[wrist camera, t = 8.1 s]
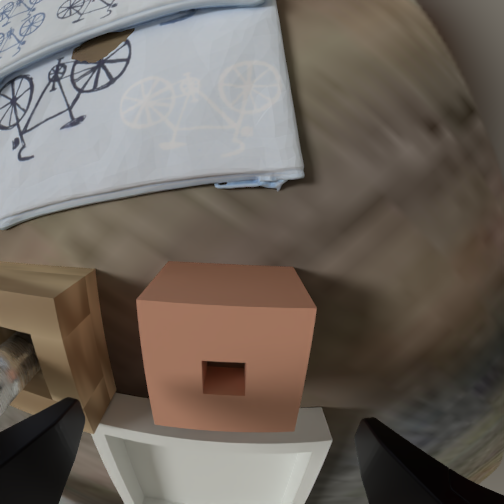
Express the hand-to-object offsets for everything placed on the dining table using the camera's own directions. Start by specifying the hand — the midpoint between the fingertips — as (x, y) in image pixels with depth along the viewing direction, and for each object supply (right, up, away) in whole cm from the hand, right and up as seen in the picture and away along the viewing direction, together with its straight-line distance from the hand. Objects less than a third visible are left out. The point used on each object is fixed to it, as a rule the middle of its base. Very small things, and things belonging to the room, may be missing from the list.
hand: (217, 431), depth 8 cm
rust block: (0, +2, +7) cm, 8 cm away
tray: (-2, -11, +10) cm, 15 cm away
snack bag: (-7, +17, +4) cm, 19 cm away
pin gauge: (-11, 0, +6) cm, 13 cm away
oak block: (-11, +1, +7) cm, 14 cm away
